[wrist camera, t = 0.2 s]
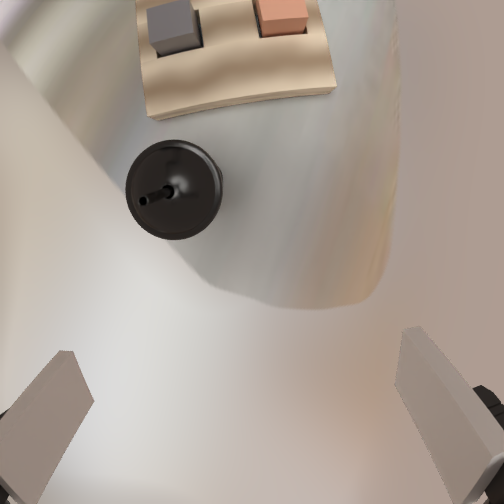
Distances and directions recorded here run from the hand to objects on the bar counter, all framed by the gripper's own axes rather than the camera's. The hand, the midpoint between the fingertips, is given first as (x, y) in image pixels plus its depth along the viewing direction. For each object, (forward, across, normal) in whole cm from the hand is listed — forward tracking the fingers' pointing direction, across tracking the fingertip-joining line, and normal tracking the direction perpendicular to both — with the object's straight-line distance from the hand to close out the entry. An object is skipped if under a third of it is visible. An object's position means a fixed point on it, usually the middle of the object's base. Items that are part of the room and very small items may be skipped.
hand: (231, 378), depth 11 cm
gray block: (+25, -5, +23) cm, 34 cm away
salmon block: (+25, +6, +24) cm, 35 cm away
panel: (+28, 0, +23) cm, 36 cm away
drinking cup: (+28, -5, +6) cm, 29 cm away
